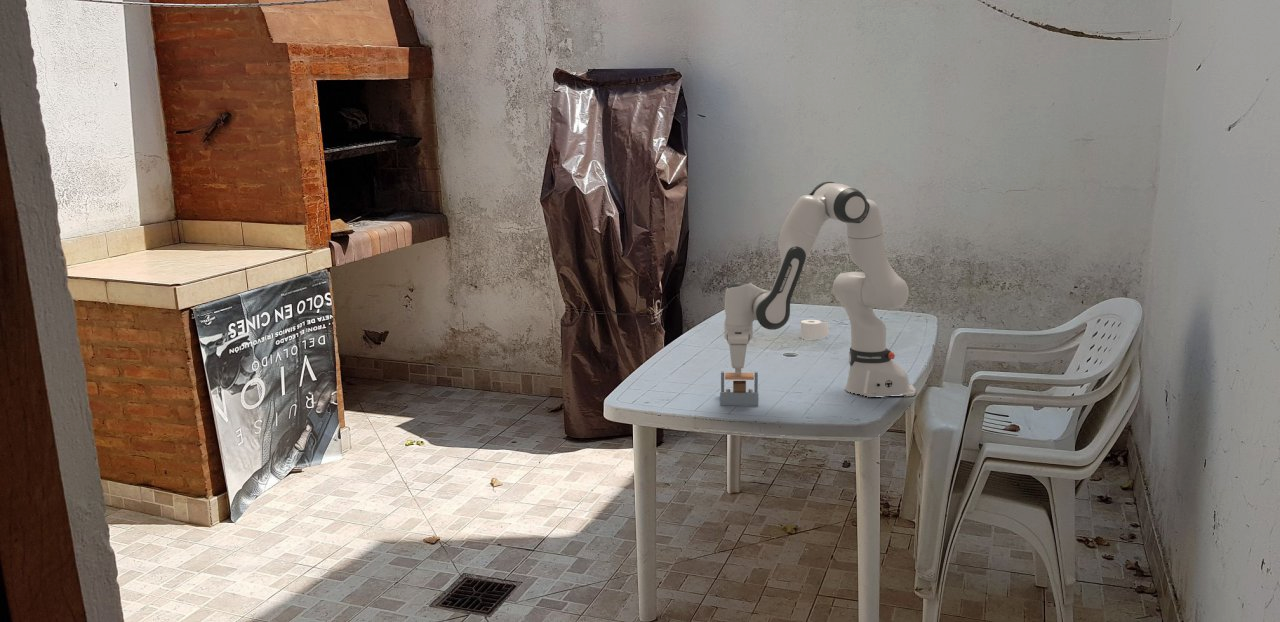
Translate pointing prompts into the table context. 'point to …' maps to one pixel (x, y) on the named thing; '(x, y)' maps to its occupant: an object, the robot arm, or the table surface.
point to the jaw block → (739, 386)
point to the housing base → (739, 395)
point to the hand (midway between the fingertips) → (738, 375)
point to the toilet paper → (814, 329)
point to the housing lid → (743, 376)
